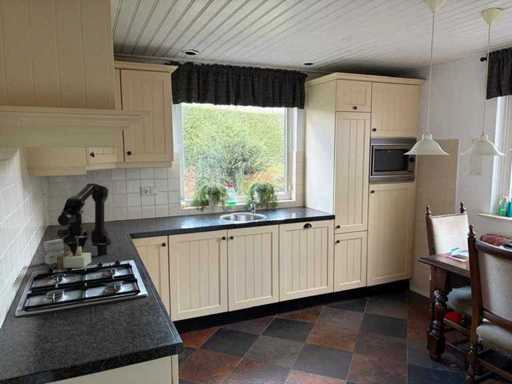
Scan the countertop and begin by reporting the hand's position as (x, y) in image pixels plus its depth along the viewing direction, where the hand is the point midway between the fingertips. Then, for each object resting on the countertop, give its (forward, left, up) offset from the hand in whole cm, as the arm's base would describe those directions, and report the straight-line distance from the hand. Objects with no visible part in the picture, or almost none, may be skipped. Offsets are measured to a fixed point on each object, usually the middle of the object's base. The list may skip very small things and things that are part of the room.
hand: (77, 253), depth 195 cm
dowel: (0, 0, -5) cm, 5 cm away
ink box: (-13, -18, -7) cm, 23 cm away
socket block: (0, 0, -6) cm, 6 cm away
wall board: (0, +8, -7) cm, 11 cm away
